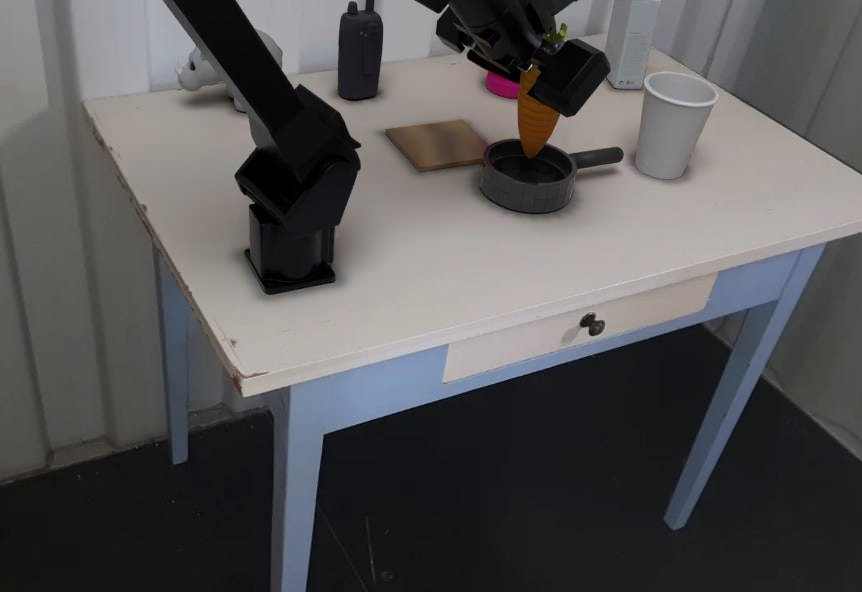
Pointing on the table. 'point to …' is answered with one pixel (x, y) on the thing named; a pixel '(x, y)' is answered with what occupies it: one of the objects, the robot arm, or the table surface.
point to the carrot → (536, 107)
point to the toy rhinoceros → (204, 74)
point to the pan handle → (597, 157)
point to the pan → (527, 176)
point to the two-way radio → (359, 51)
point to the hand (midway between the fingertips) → (551, 95)
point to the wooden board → (439, 144)
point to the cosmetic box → (630, 41)
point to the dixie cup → (672, 122)
